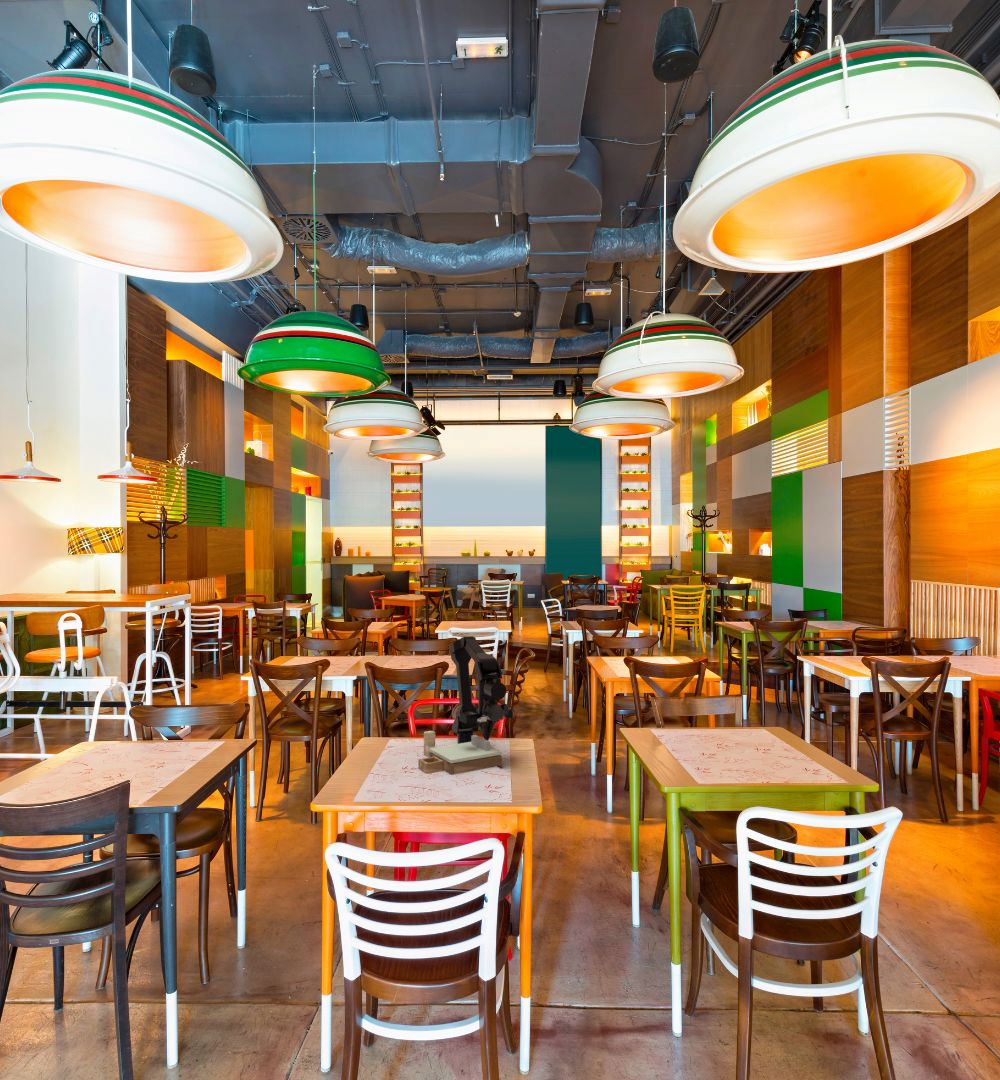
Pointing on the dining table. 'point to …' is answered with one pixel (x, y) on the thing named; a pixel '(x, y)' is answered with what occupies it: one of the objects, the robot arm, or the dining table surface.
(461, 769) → the wooden box tray
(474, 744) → the lid
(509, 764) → the dining table surface
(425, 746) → the brown wooden block
